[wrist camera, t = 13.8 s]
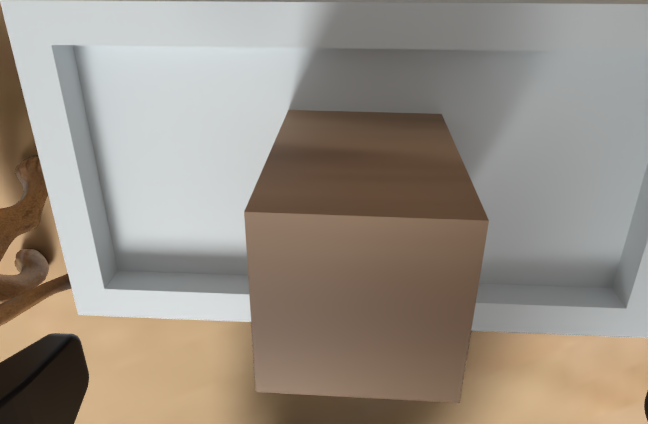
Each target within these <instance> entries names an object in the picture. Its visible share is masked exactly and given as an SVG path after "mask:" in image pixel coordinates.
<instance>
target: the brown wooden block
mask: <svg viewBox="0 0 648 424" xmlns="http://www.w3.org/2000/svg"><path fill="white" fill-rule="evenodd" d="M244 218H245V234H246V249H247V265H248V280H249V296H250V311H251V327H252V342H253V358H254V373H255V389H256V392H265V393H283V394H302V395H320V396H339V397H357V398H376V399H395V400H413V401H432V402H450V403H460V397H461V391H462V385H463V379H464V372H465V366H466V360H467V354H468V348H469V342H470V335H471V329H472V323H473V317H474V311H475V304H476V298H477V292H478V286H479V280H480V274H481V267H482V261H483V255H484V249H485V243H486V236H487V230H488V224H489V220H488V217H487V215H486V213H485V210H484V208H483V206H482V204H481V201H480V199H479V197H478V195H477V192H476V190H475V188H474V186H473V183H472V181H471V179H470V177H469V174H468V172H467V170H466V168H465V165H464V163H463V161H462V159H461V156H460V154H459V152H458V150H457V147H456V145H455V143H454V141H453V138H452V136H451V134H450V132H449V129H448V127H447V125H446V123H445V120H444V118H443V116H442V114H427V113H389V112H350V111H311V110H288V112H287V114H286V116H285V119H284V121H283V123H282V126H281V128H280V130H279V133H278V135H277V137H276V139H275V142H274V144H273V146H272V149H271V151H270V153H269V156H268V158H267V160H266V163H265V165H264V167H263V169H262V172H261V174H260V176H259V179H258V181H257V183H256V186H255V188H254V190H253V192H252V195H251V197H250V199H249V202H248V204H247V206H246V209H245V211H244Z"/></svg>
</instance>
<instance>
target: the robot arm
mask: <svg viewBox="0 0 648 424" xmlns="http://www.w3.org/2000/svg"><path fill="white" fill-rule="evenodd" d="M88 383H89V372H88V368H87V364H86V360H85V356H84V352H83V348H82V345H81V341H80V339H79V338H78V336H76V335H74V334H60V333H54V334H49V335H47V336H45V337H43V338H42V339H40V340H38V341H37V342H35V343H33V344H31V345H30V346H28V347H26V348H25V349H23V350H21V351H19V352H18V353H16V354H14V355H13V356H11V357H9V358H7V359H6V360H4V361H2V362H1V363H0V424H74V422H75V420H76V417H77V414H78V412H79V409H80V406H81V404H82V401H83V398H84V396H85V393H86V390H87V387H88ZM644 407H645V414H646V418H647V421H648V392H647V395H646V398H645V404H644Z"/></svg>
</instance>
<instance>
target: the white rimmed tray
mask: <svg viewBox="0 0 648 424" xmlns="http://www.w3.org/2000/svg"><path fill="white" fill-rule="evenodd" d="M0 3H1V7H2V11H3V15H4V19H5V23H6V27H7V31H8V35H9V39H10V43H11V47H12V51H13V55H14V59H15V63H16V67H17V71H18V75H19V79H20V83H21V87H22V91H23V95H24V99H25V103H26V107H27V111H28V116H29V120H30V124H31V128H32V132H33V136H34V140H35V144H36V148H37V152H38V156H39V160H40V164H41V168H42V172H43V176H44V180H45V184H46V188H47V192H48V196H49V200H50V204H51V208H52V212H53V216H54V220H55V224H56V228H57V232H58V236H59V240H60V244H61V248H62V252H63V256H64V260H65V264H66V268H67V272H68V276H69V280H70V284H71V288H72V292H73V296H74V300H75V304H76V308H77V312H78V315H89V316H114V317H139V318H164V319H188V320H213V321H238V322H251V311H250V296H249V280H248V265H247V249H246V234H245V218H244V211H245V209H246V206H247V204H248V202H249V199H250V197H251V195H252V192H253V190H254V188H255V186H256V183H257V181H258V179H259V176H260V174H261V172H262V169H263V167H264V165H265V163H266V160H267V158H268V156H269V153H270V151H271V149H272V146H273V144H274V142H275V139H276V137H277V135H278V133H279V130H280V128H281V126H282V123H283V121H284V119H285V116H286V114H287V112H288V110H311V111H350V112H389V113H427V114H442V116H443V118H444V120H445V123H446V125H447V127H448V129H449V132H450V134H451V136H452V138H453V141H454V143H455V145H456V147H457V150H458V152H459V154H460V156H461V159H462V161H463V163H464V165H465V168H466V170H467V172H468V174H469V177H470V179H471V181H472V183H473V186H474V188H475V190H476V192H477V195H478V197H479V199H480V201H481V204H482V206H483V208H484V210H485V213H486V215H487V217H488V220H489V224H488V230H487V236H486V243H485V249H484V255H483V261H482V267H481V274H480V280H479V286H478V292H477V298H476V304H475V311H474V317H473V323H472V329H471V331H486V332H511V333H535V334H560V335H585V336H610V337H635V338H648V0H0Z"/></svg>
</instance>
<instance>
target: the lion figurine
mask: <svg viewBox="0 0 648 424" xmlns="http://www.w3.org/2000/svg"><path fill="white" fill-rule="evenodd" d="M15 174H16V176H17V178H18V180H19V181H20V183H21V184H22V185H23V187H24V194H23V196H22V198H21V200H20V201H19V202H18V203H16V204H15V205H13V206H11V207H7V208H1V209H0V261H1V259H2V258H3V256H4V254H5V252H6V250H7V249H8V247H9V245H10V244H11V242H12V241H13V240H14V239H15V238H16V237H17V236H19V235H21V234H23V233H25V232H28V231H31V230H33V229H35V228H36V227H37V226H38V224H39V222H40V218H41V213H42V210H43V206H44V203H45V201H46V198H47V196H48V192H47V188H46V184H45V180H44V176H43V172H42V168H41V164H40V160H39V157H35V156H34V157H29V158H27V159H25V160H24V161H23V162H21V163H20V164H19V165H18V166H17V168H16V170H15ZM15 266H16V268H17V270H18V271H19V272H20V274H18V275H1V274H0V326H1V325H3V324H5V323H7V322H8V321H10V320H12V319H13V318H15V317H17V316H18V315H20V314H21V313H23V312H25V311H26V310H28V309H30V308H31V307H33V306H34V305H36V304H38V303H39V302H41V301H42V300H44V299H46V298H47V297H49V296H51V295H53V294H55V293H57V292H61V291H64V290H67V289H71V284H70V280H69V276H68V274H66V275H63V276H61V277H58V278H56V279H54V280H51V281H48V282H46V283H44V284H41V283H42V282H43V281H44V280H45V279H46V276H47V274H48V270H49V266H48V263H47V261H46V259H45V258H44V256H43V255H42V254H40V253H39V252H38V251H37V250H35V249H23V250H20V251H19V252H18V253H17V254H16V260H15ZM40 284H41V285H40ZM38 285H39V286H38Z"/></svg>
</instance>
